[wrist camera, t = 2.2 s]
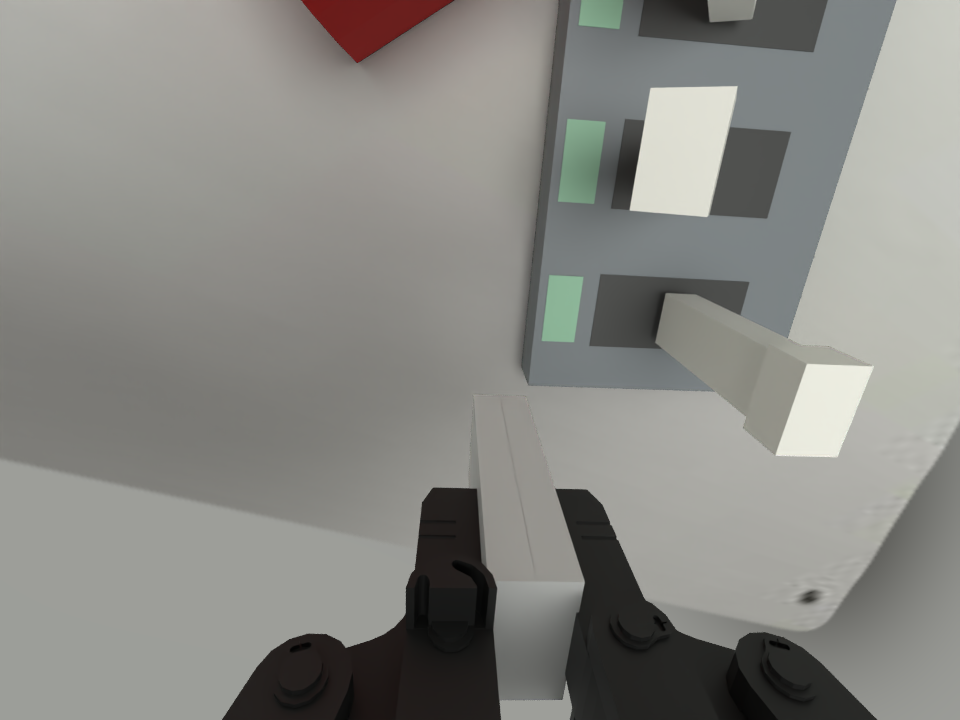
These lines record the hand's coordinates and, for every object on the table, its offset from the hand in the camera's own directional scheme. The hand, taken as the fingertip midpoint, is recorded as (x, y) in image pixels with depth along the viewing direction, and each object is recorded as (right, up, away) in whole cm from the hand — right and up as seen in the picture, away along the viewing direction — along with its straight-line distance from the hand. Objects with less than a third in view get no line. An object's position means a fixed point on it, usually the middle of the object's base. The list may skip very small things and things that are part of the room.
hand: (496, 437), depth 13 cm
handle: (+11, +12, +11) cm, 19 cm away
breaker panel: (+11, +14, +14) cm, 23 cm away
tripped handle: (+11, +5, +14) cm, 19 cm away
